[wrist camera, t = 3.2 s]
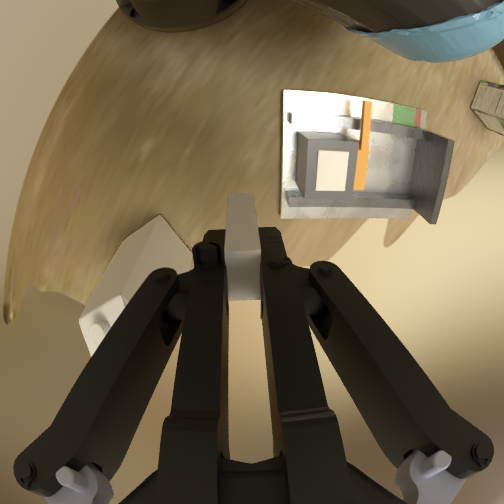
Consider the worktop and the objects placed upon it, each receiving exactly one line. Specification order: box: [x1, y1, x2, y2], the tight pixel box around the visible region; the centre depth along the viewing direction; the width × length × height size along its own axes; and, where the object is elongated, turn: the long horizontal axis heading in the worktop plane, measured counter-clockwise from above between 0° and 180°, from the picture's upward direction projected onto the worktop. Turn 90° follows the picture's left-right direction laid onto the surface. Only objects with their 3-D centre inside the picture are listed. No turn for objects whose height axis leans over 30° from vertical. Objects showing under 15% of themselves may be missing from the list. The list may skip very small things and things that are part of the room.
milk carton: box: [79, 215, 193, 357], centre depth 28 cm, size 7×7×19 cm
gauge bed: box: [280, 90, 454, 224], centre depth 27 cm, size 15×18×7 cm
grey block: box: [296, 132, 359, 200], centre depth 26 cm, size 6×5×5 cm
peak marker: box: [353, 100, 372, 190], centre depth 26 cm, size 10×2×3 cm, turn 1°
